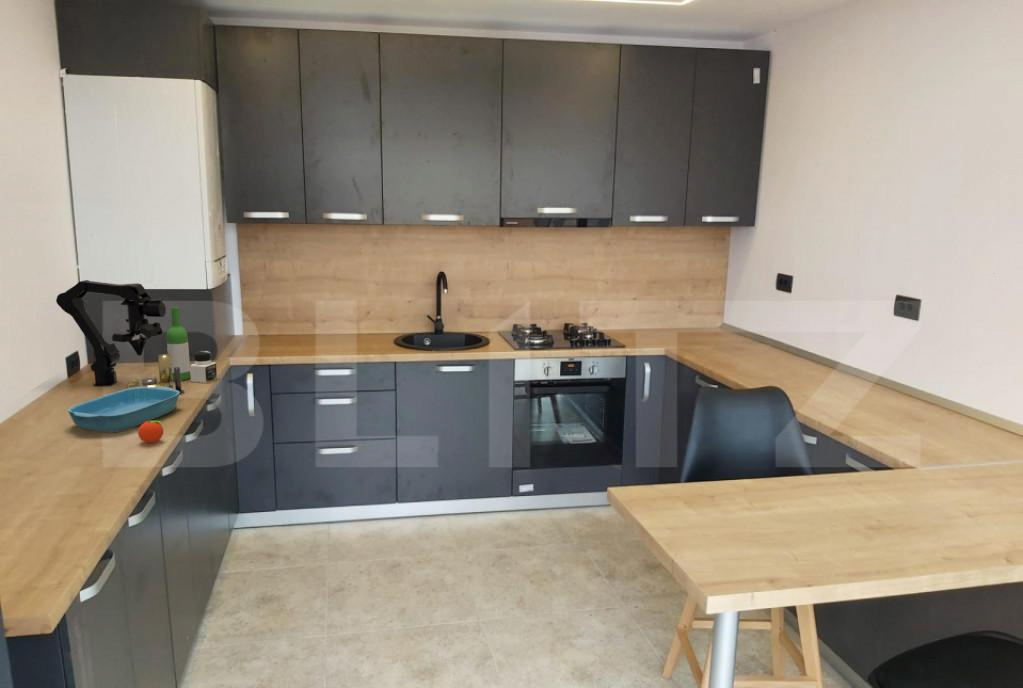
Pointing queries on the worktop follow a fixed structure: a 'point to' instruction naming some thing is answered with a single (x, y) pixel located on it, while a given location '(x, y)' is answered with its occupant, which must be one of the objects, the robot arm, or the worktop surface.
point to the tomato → (150, 431)
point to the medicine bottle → (203, 368)
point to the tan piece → (164, 375)
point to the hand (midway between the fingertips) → (139, 355)
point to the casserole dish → (124, 408)
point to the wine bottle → (178, 346)
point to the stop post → (178, 379)
